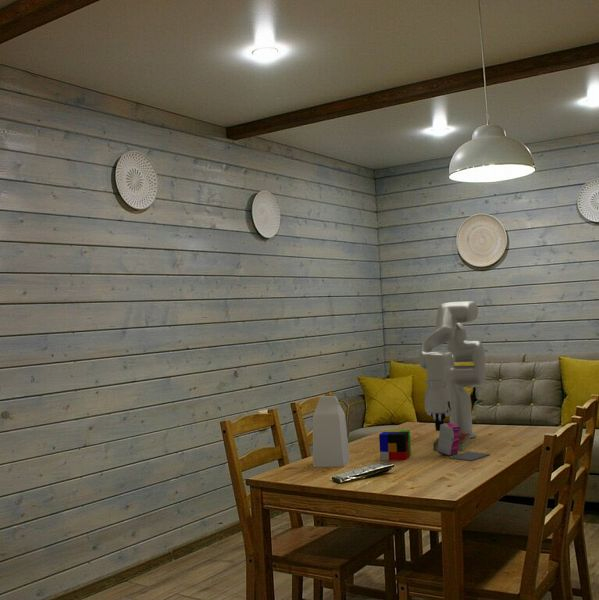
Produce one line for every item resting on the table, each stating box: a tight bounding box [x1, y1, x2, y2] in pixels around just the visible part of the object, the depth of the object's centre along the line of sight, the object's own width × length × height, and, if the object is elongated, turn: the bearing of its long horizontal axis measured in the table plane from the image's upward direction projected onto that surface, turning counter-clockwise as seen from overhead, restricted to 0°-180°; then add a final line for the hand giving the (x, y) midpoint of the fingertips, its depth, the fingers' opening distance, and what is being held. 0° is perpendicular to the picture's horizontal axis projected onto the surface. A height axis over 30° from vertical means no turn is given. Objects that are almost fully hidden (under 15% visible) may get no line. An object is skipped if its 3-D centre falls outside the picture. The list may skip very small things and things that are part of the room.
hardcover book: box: [432, 433, 471, 452], centre depth 309 cm, size 12×21×4 cm, turn 159°
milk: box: [312, 395, 351, 468], centre depth 287 cm, size 12×12×26 cm
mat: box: [448, 451, 491, 462], centre depth 284 cm, size 10×13×1 cm
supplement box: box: [437, 422, 460, 457], centre depth 291 cm, size 6×6×12 cm
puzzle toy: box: [378, 429, 412, 461], centre depth 291 cm, size 10×10×10 cm
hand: (439, 430), depth 294 cm, fingers closed
